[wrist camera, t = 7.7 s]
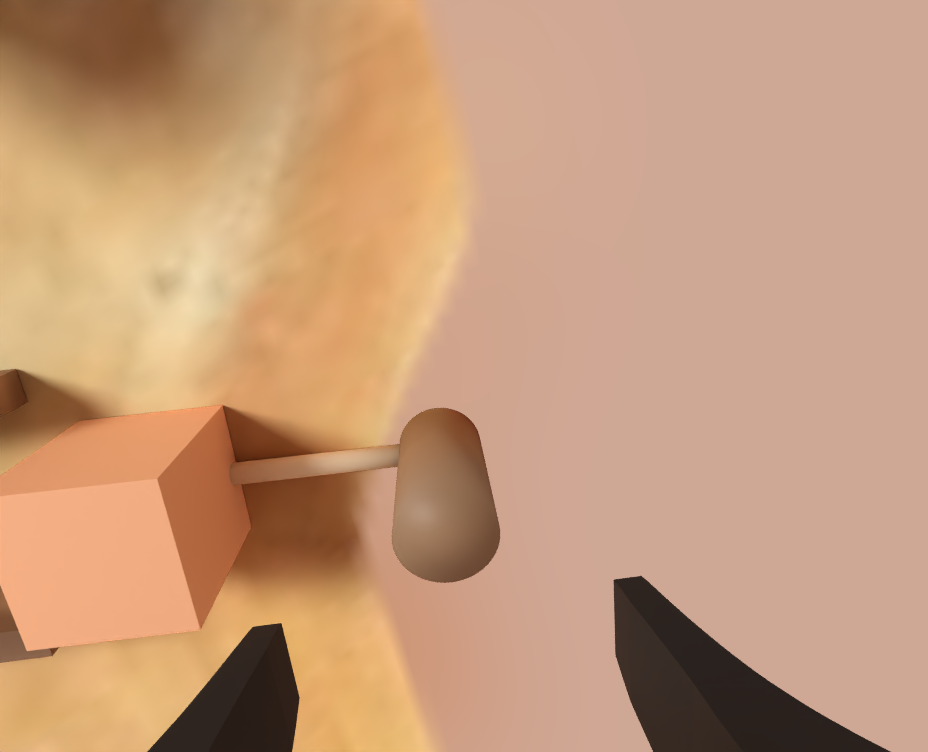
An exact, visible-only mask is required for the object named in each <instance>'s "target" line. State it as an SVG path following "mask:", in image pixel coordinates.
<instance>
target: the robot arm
mask: <svg viewBox="0 0 928 752" xmlns="http://www.w3.org/2000/svg"><path fill="white" fill-rule="evenodd" d="M614 611H615V652H616V658H617V661H618V664H619V667H620V670H621V673H622V677H623V680H624V683H625V686H626V689H627V692H628V695H629V698H630V700H631V703H632V706H633V708H634V710H635V712H636V715H637V717H638V719H639V721H640V723H641V726H642V728H643V730H644V732H645V734H646V737H647V739H648V741H649V743H650V746H651V748H652V750H653V752H890V751H888V750H886V749H884V748H882V747H880V746H878V745H876V744H874V743H872V742H871V741H868V740H866V739H865V738H863V737H861V736H859V735H857V734H855V733H853V732H852V731H850V730H848V729H846V728H845V727H843V726H841V725H839V724H837V723H836V722H834V721H832V720H830V719H828V718H827V717H825V716H823V715H821V714H820V713H818V712H816V711H815V710H813V709H811V708H810V707H808V706H806V705H805V704H803V703H802V702H800V701H798V700H797V699H795V698H794V697H792V696H791V695H789V694H788V693H786V692H785V691H783V690H782V689H780V688H778V687H777V686H775V685H774V684H772V683H771V682H769V681H768V680H766V679H765V678H764V677H762V676H761V675H759V674H758V673H756V672H755V671H754V670H752V669H751V668H750V667H748V666H747V665H746V664H744V663H743V662H742V661H740V660H739V659H738V658H736V657H735V656H734V655H732V654H731V653H730V652H729V651H727V650H726V649H725V648H724V647H722V646H721V645H720V644H718V643H717V642H716V641H715V640H714V639H713V638H711V637H710V636H709V635H708V634H707V633H705V632H704V631H703V630H702V629H701V628H699V627H698V626H697V625H696V624H695V623H693V622H692V621H691V620H690V619H689V618H687V616H685V615H684V614H683V613H682V612H681V611H680V610H679V609H677V608H676V607H675V606H674V605H673V604H672V603H671V602H670V601H669V600H668V599H666V598H665V597H664V596H663V595H662V594H661V593H660V592H658V590H657V589H656V588H654V587H653V586H652V585H651V584H650V583H649V582H648V581H647V580H646V579H644V578H643V577H642V576H638V577H630V578H623V579H616V580H614ZM298 705H299V694H298V690H297V685H296V681H295V677H294V673H293V669H292V665H291V661H290V657H289V653H288V648H287V644H286V640H285V636H284V632H283V628H282V624H281V623H279V624H271V625H264V626H256V627H252V629H251V630H250V631H249V632H248V633H247V635H246V636H245V637H244V638H243V639H242V641H241V642H240V643H239V644H238V646H237V647H236V648H235V649H234V651H233V652H232V653H231V654H230V656H229V657H228V658H227V659H226V661H225V662H224V663H223V664H222V666H221V667H220V668H219V669H218V671H217V672H216V673H215V674H214V676H213V677H212V678H211V679H210V680H209V682H208V683H207V684H206V685H205V687H204V688H203V689H202V690H201V691H200V692H199V694H198V695H197V696H196V697H195V698H194V700H193V701H192V702H191V703H190V704H189V706H188V707H187V708H186V709H185V710H184V712H183V713H182V714H181V715H180V716H179V717H178V718H177V720H176V721H175V722H174V723H173V724H172V725H171V726H170V727H169V728H168V730H167V731H166V732H165V733H164V734H163V735H162V736H161V737H160V738H159V740H158V741H157V742H156V743H155V744H154V745H153V746H152V747H151V748H150V750H149V751H148V752H292V748H293V742H294V735H295V728H296V721H297V713H298Z"/></svg>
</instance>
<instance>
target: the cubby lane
mask: <svg viewBox="0 0 928 752" xmlns="http://www.w3.org/2000/svg"><path fill="white" fill-rule="evenodd" d="M26 402H27V399H26V396H25V394H24V391H23V388H22V385H21V382H20V380H19V377H18V374H17V371H16V369H11V370H3V371H0V417H1V416H3V415H5V414H7V413H9V412H10V411H12V410H14V409H16V408H17V407H19V406H21V405H23V404H25V403H26ZM58 648H59V647H57V648H48V649H40V650H32V651H27V650H26V648H25V645H24V643H23V640H22V638H21V635H20V633H19V630H18V628H17V625H16V623H15V620H14V618H13V615H12V613H11V611H10V608H9V606H8V603H7V601H6V598H5V596H4V593H3V591H2V588H1V586H0V663H2V662H10V661H18V660H25V659H33V658H40V657H48V656H53V654H54V653H55V652H56V651H57V649H58Z"/></svg>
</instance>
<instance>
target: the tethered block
mask: <svg viewBox="0 0 928 752" xmlns="http://www.w3.org/2000/svg"><path fill="white" fill-rule="evenodd" d="M390 467H398V471H397V482H396V494H395V506H394V518H393V529H392V544H393V549H394V551H395V554H396V556H397V558H398V559H399V561H400V562H401V563H402V565H403V566H404V567H405V568H406V569H407V570H409V571H410V572H411V573H413V574H414V575H416V576H418V577H420V578H422V579H425V580H429V581H433V582H444V583H446V582H455V581H460V580H463V579H466V578H469V577H471V576H473V575H475V574H476V573H478V572H479V571H481V570H482V569H483V568H484V567H485V566H486V565H488V563H489V562H490V561H491V559H492V558H493V556H494V555H495V553H496V550H497V549H498V545H499V540H500V528H499V522H498V517H497V513H496V509H495V504H494V500H493V495H492V491H491V486H490V482H489V477H488V473H487V468H486V464H485V459H484V455H483V451H482V446H481V441H480V437H479V434H478V431H477V429H476V427H475V425H474V424H473V423H472V421H471V420H470V419H469V418H468V417H466V416H465V415H463V414H462V413H460V412H458V411H455V410H452V409H448V408H434V409H429V410H426V411H424V412H421V413H419V414H418V415H416V416H415V417H414V418H412V419H411V420H410V421H409V422H408V424H407V425H406V426H405V428H404V430H403V432H402V435H401V438H400V444H397V445H388V446H379V447H370V448H361V449H352V450H343V451H334V452H325V453H316V454H307V455H298V456H289V457H280V458H272V459H263V460H254V461H245V462H236V460H235V456H234V451H233V447H232V443H231V439H230V434H229V430H228V426H227V422H226V417H225V413H224V409H223V405H219V406H210V407H201V408H191V409H182V410H173V411H164V412H154V413H145V414H136V415H127V416H118V417H108V418H99V419H90V420H81V421H78V422H77V423H75V424H74V425H72V426H71V427H70V428H68V429H67V430H65V431H64V432H62V433H61V434H60V435H58V436H57V437H55V438H54V439H52V440H51V441H50V442H48V443H47V444H45V445H44V446H42V447H41V448H40V449H38V450H37V451H35V452H34V453H32V454H31V455H30V456H28V457H27V458H25V459H24V460H22V461H21V462H20V463H18V464H17V465H15V466H14V467H12V468H11V469H10V470H8V471H7V472H5V473H4V474H2V475H1V476H0V586H1V588H2V591H3V593H4V596H5V598H6V601H7V603H8V606H9V608H10V611H11V613H12V615H13V618H14V620H15V623H16V625H17V628H18V630H19V633H20V635H21V638H22V640H23V643H24V645H25V648H26V650H27V651H32V650H40V649H48V648H57V647H65V646H73V645H81V644H90V643H98V642H106V641H114V640H123V639H131V638H139V637H148V636H156V635H164V634H172V633H181V632H189V631H197V630H201V628H202V626H203V624H204V622H205V620H206V618H207V616H208V614H209V612H210V610H211V607H212V605H213V603H214V601H215V599H216V597H217V595H218V593H219V591H220V589H221V587H222V585H223V583H224V581H225V579H226V577H227V575H228V573H229V571H230V569H231V567H232V565H233V563H234V561H235V559H236V557H237V555H238V553H239V551H240V549H241V547H242V545H243V543H244V541H245V539H246V537H247V535H248V533H249V531H250V529H251V523H250V519H249V515H248V511H247V506H246V502H245V498H244V494H243V489H242V485H241V484H248V483H257V482H266V481H275V480H284V479H293V478H302V477H310V476H319V475H328V474H337V473H346V472H355V471H364V470H372V469H381V468H390Z"/></svg>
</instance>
